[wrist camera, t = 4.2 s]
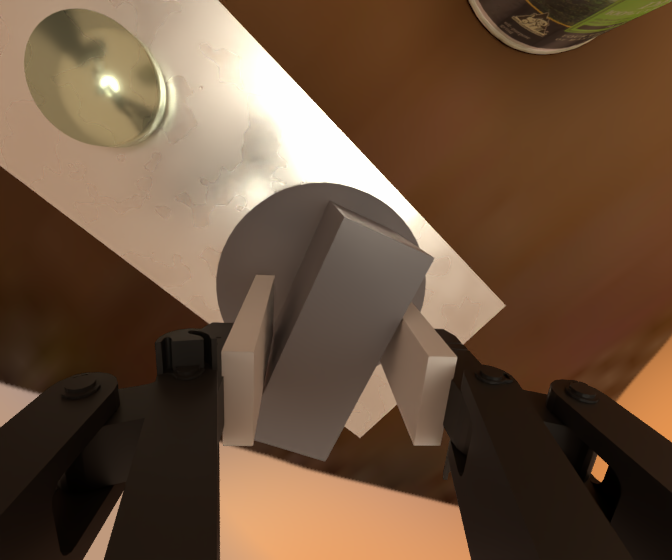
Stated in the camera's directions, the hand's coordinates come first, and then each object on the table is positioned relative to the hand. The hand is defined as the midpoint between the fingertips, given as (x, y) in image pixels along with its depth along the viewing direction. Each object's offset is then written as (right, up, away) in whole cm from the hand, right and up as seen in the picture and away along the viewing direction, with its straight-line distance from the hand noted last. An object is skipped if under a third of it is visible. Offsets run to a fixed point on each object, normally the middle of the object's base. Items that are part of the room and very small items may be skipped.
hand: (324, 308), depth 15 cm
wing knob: (0, +1, +4) cm, 4 cm away
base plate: (-4, +5, +5) cm, 8 cm away
